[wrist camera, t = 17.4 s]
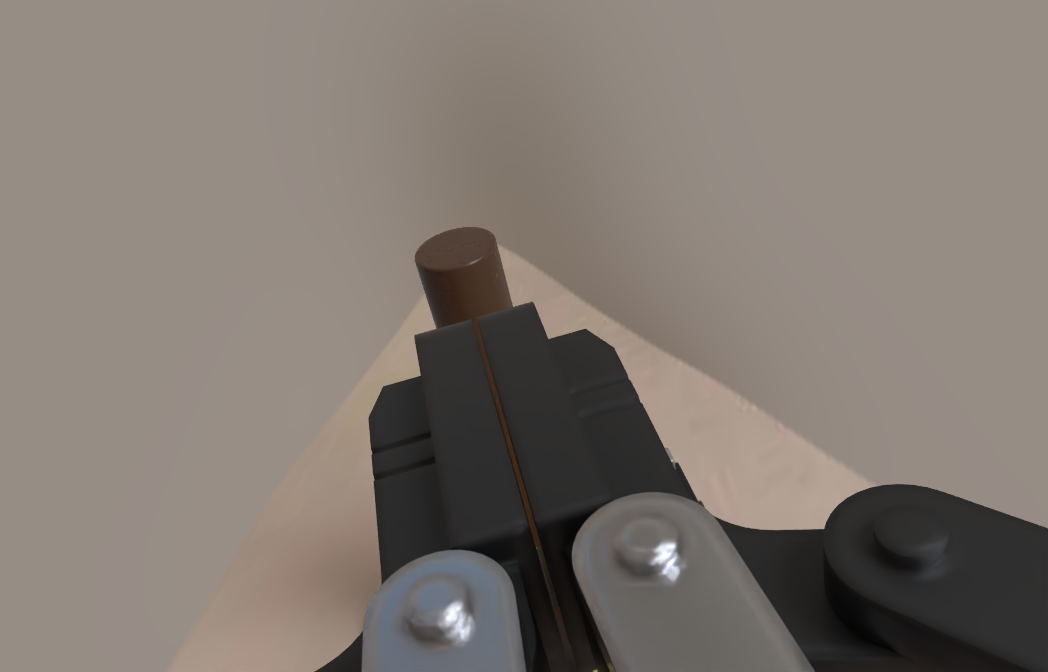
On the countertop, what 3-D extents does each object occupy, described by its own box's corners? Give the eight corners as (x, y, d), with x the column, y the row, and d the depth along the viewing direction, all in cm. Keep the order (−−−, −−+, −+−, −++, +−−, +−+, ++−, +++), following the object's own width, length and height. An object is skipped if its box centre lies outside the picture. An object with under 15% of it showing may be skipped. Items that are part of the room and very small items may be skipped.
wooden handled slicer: (531, 630, 33) (418, 278, 25) (504, 523, 38) (402, 195, 29) (722, 573, 34) (677, 205, 25) (672, 473, 39) (620, 134, 30)
